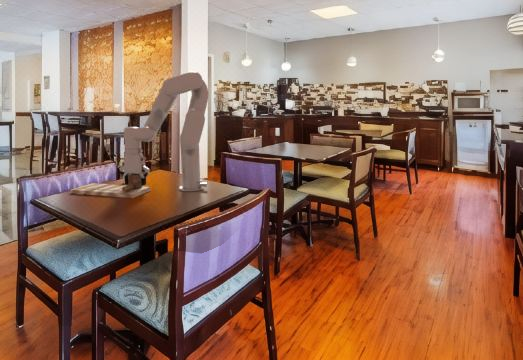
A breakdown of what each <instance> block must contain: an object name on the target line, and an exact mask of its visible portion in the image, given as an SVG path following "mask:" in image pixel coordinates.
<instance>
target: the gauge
mask: <svg viewBox="0 0 523 360" xmlns="http://www.w3.org/2000/svg"><path fill="white" fill-rule="evenodd" d="M141 178H142V177H141V175H140V174H130V175H128V182H129V184H127V186H125V187H122V191H128V190H130V189H137V188H140V187H142V185H141Z"/></svg>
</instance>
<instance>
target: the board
mask: <svg viewBox="0 0 523 360" xmlns="http://www.w3.org/2000/svg"><path fill="white" fill-rule="evenodd" d="M125 186H128V184H126V185H125V184H124V185H123V184H113V183H112V184H109V183H108V184H107V183H98V182H97V183H93V182H92V183H89V184H85V185H82V186H78V187H75V188H72V189H70V194H71V193H74V194H73V195H84V194H86V195H87V196H97V197H98V196H99V197H101V196H102V197H112V198H125V199H129V198H130V199H134V198H136V197H139V196H141V195H144V194H146V193H148V192H149V193H150V192H151V191H152V190H151V186H144V185H143V186H142V187H140V188H137V189H130V190H128V191H122V187H125Z"/></svg>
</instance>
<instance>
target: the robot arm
mask: <svg viewBox="0 0 523 360" xmlns="http://www.w3.org/2000/svg"><path fill="white" fill-rule="evenodd" d="M188 92H191V96H190V101H189V105H188V110H187V112H186V114H185V119H184V123H183V127H182V130H181V133H180V136H179V144H180V146H179V147H180V148H179V149H180V166H181V167H180V168H181V185H180V186H179V188H178V189H179V191H181V192H199V191H202V190H203V189H204V188H207V187H208V183H207V182H203V180H202V179H201V169H200V167H201V166H200V165H201V162H200V141H201V138H202V134H203V131H204V127H205V121H206V116H205V114H206V109H207V105H208V101H209V89H208V85H207V83H206V82H205V80H204V79H203V77H202V75H201V74H200V73H199V72H198V71H194V70H193V71H188V72H186V73H182V74H179V75H176V76H172V77H169V78H166V79H165V80H164V81H163V82H162V85H161V88H160V90H159V92H158V94H157V96H156V98H155V100H153V101H154V102H153V103H152V105H151V109H150V113H149V115H148V117H147V119H146V121H145V123H144V124H143V126H142V127H141V126H140V127H137V126H127V127H126V126H125V128H124V129H123V138H124V151H125V153H124V156H123V162H124V166H122V165H121V167H119V169H118V170H119V171H120V174H121V175H122V178H123V177H124V180H125V184H124V185H129V182H128V175H129V174H140V175H141V177H142V178H141V185H142V186H143V187H144V186H146V185H147V176H148V175H149V174H150V172H151V168H149V167H148V166H146V162H145V156H144V154H143V152H144V150H143V149H142V145H141V144H142V143H141V142H145V143H146V142H147V143H148V142H149V143H150V142H152V141H153V140H154V139H155V138H156V137H157V134H158V132H159V130H160V128H161V126H162V125H163V123H164V121H165V119H166V118H167V117H168V115H169V114H170V111H171V108H172V107H173V105H174V104H175V101H176V99H177V97H178V96H179V95H181V94H185V93H188ZM123 169H124V170H123Z"/></svg>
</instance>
